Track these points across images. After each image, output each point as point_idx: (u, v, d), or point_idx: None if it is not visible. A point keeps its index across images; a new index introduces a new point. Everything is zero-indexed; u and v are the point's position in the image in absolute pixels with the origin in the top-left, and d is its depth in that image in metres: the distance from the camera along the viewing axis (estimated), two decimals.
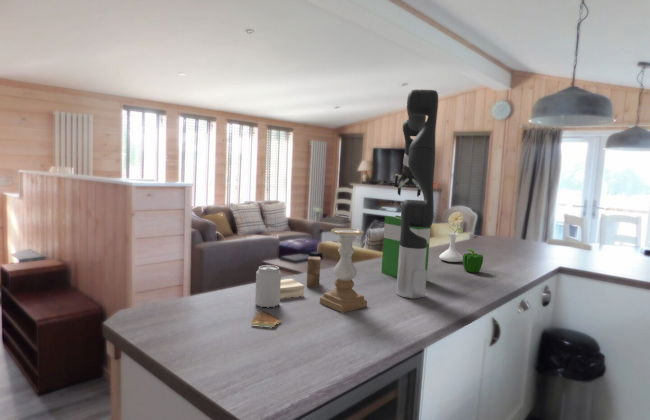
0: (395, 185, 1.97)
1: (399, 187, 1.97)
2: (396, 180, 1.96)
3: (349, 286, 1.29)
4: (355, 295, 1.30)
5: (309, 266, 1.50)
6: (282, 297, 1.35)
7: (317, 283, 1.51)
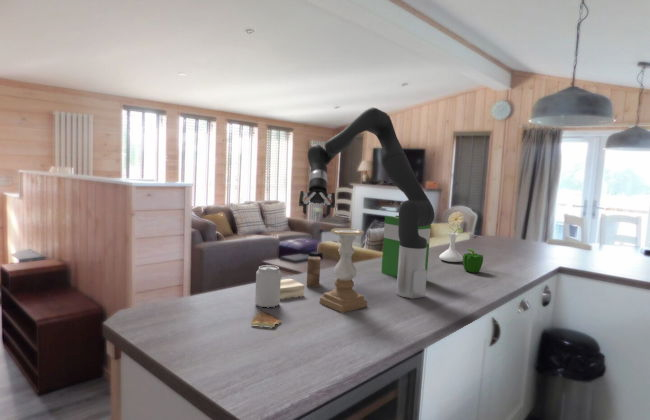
0: (300, 200, 1.65)
1: (305, 202, 1.64)
2: (301, 195, 1.66)
3: (349, 286, 1.29)
4: (355, 295, 1.30)
5: (309, 266, 1.50)
6: (283, 297, 1.35)
7: (317, 283, 1.51)
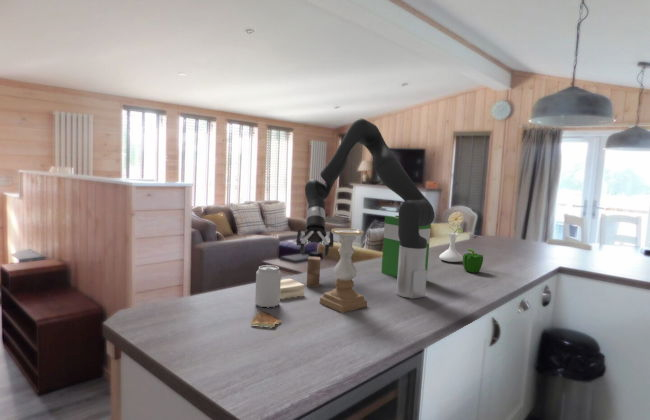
0: (297, 240, 1.60)
1: (302, 242, 1.59)
2: (299, 234, 1.62)
3: (349, 286, 1.29)
4: (355, 295, 1.30)
5: (309, 266, 1.50)
6: (283, 297, 1.35)
7: (317, 283, 1.51)
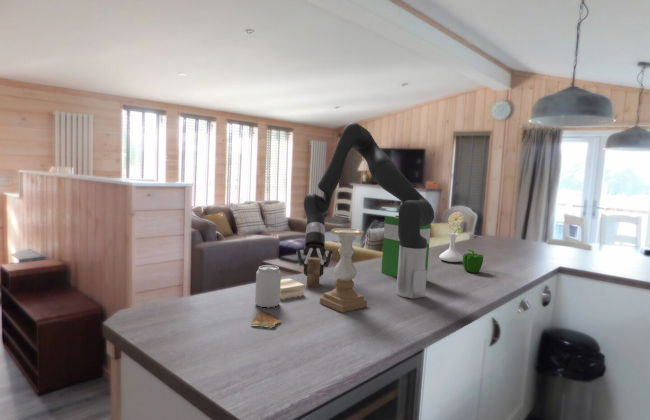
0: (300, 260, 1.53)
1: (305, 262, 1.52)
2: (299, 254, 1.54)
3: (349, 286, 1.29)
4: (355, 295, 1.30)
5: (309, 266, 1.50)
6: (284, 297, 1.35)
7: (317, 283, 1.51)
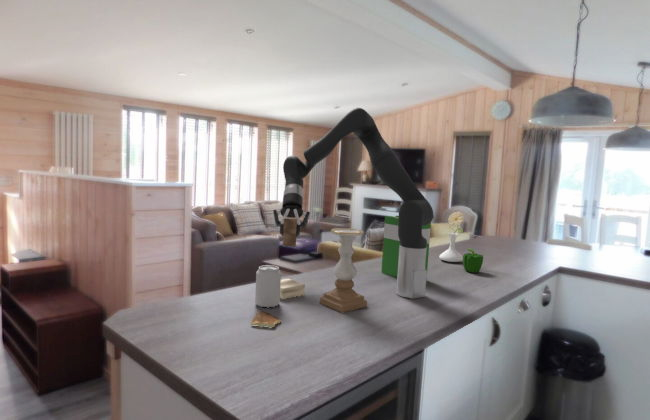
0: (277, 220, 1.51)
1: (282, 222, 1.50)
2: (276, 215, 1.52)
3: (349, 286, 1.29)
4: (355, 295, 1.30)
5: (285, 225, 1.48)
6: (285, 297, 1.35)
7: (293, 243, 1.49)
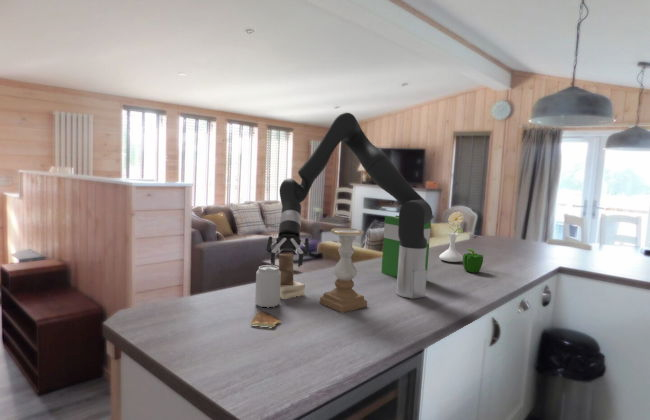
0: (268, 248, 1.40)
1: (273, 250, 1.40)
2: (269, 242, 1.42)
3: (349, 286, 1.29)
4: (355, 295, 1.30)
5: (281, 263, 1.37)
6: (286, 297, 1.35)
7: (290, 281, 1.38)
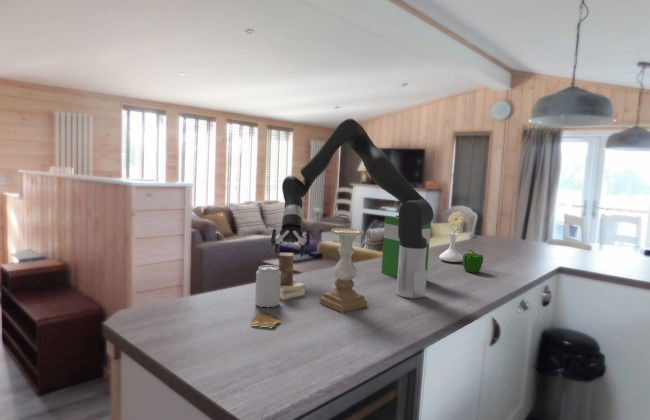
0: (272, 240, 1.52)
1: (277, 242, 1.52)
2: (273, 234, 1.54)
3: (349, 286, 1.29)
4: (355, 295, 1.30)
5: (281, 263, 1.37)
6: (286, 298, 1.35)
7: (290, 281, 1.38)
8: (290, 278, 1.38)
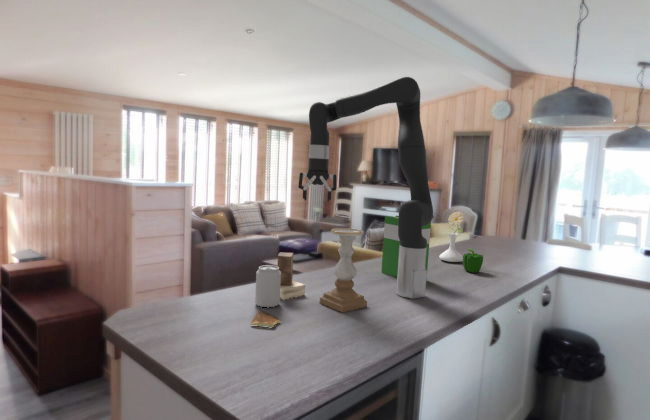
0: (299, 186, 1.56)
1: (304, 188, 1.56)
2: (300, 179, 1.56)
3: (349, 286, 1.29)
4: (355, 295, 1.30)
5: (279, 263, 1.36)
6: (286, 298, 1.35)
7: (288, 282, 1.37)
8: (289, 278, 1.37)
